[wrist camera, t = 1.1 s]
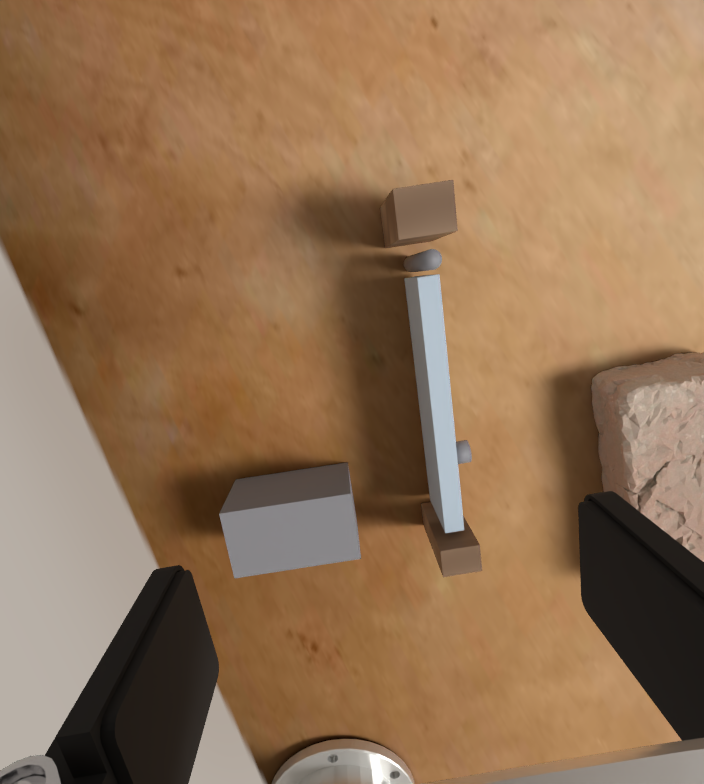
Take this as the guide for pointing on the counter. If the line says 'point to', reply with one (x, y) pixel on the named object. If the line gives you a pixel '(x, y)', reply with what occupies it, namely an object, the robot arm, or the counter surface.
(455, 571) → the block
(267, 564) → the block
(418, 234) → the brown wooden block
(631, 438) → the brick
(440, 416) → the door
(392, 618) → the counter surface
